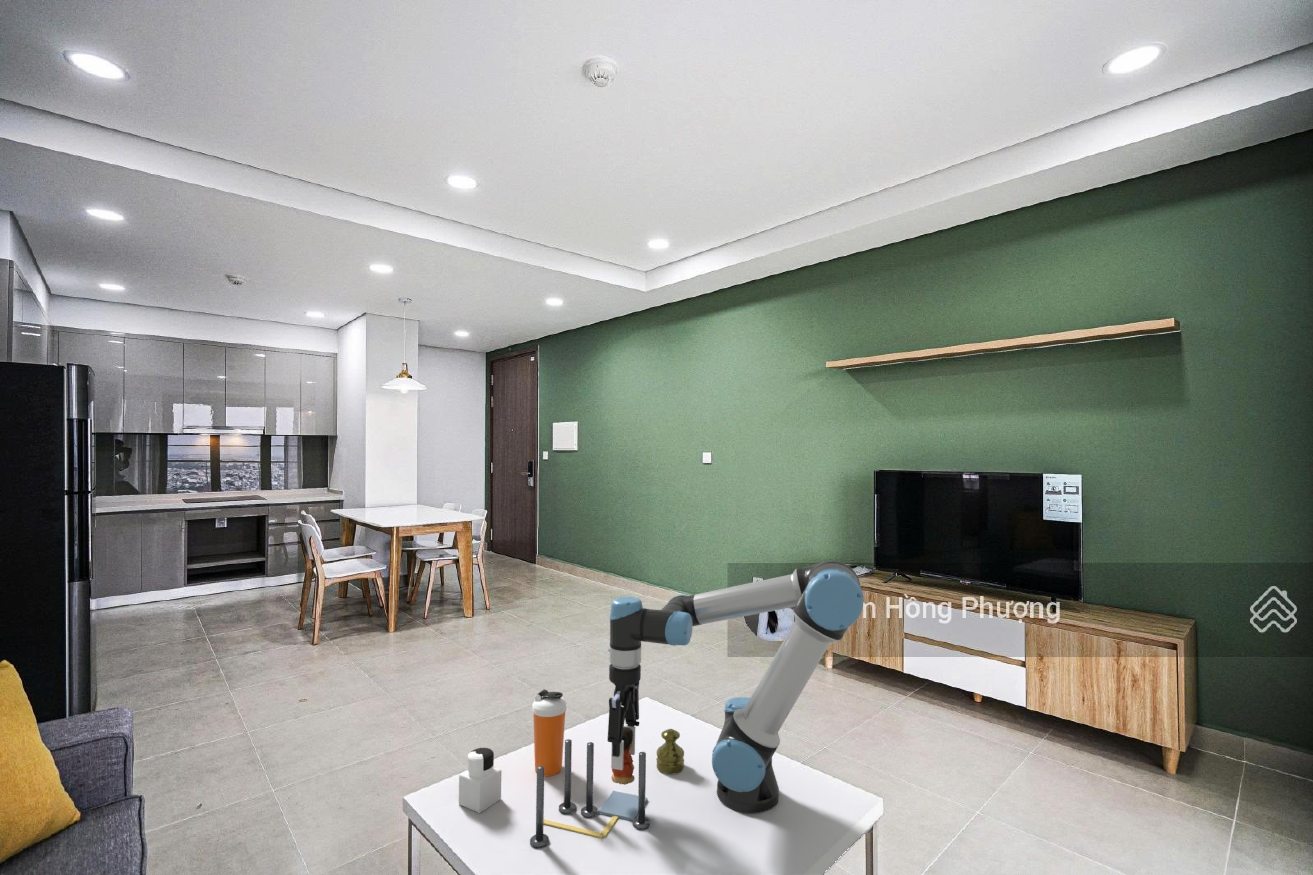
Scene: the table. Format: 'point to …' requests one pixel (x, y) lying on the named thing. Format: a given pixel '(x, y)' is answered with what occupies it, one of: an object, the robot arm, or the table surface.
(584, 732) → the table surface
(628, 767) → the figurine
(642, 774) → the gate
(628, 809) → the pad
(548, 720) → the shaker bottle
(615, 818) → the guide line
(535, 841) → the gate
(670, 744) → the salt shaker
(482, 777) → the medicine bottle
